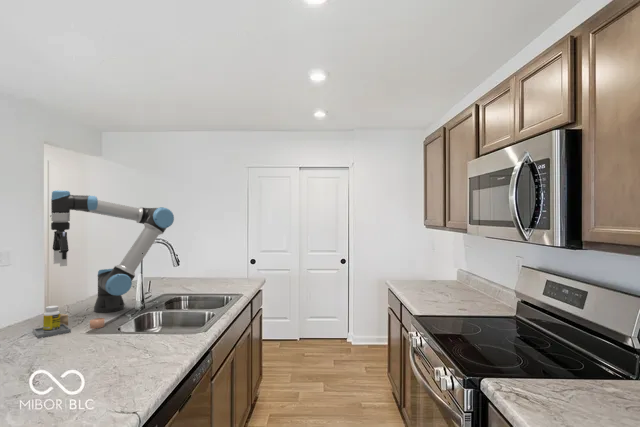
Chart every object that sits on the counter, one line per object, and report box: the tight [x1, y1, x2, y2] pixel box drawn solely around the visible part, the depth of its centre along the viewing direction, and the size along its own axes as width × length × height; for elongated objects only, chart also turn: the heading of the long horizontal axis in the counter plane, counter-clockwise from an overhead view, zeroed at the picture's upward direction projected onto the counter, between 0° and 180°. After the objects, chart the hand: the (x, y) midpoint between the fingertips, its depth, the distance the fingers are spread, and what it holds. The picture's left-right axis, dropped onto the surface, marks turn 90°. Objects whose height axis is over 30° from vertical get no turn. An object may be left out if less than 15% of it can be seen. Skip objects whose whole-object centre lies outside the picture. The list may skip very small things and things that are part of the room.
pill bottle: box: [42, 305, 61, 333], centre depth 169 cm, size 6×6×11 cm
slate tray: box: [32, 324, 72, 339], centre depth 169 cm, size 12×12×2 cm
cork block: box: [60, 313, 69, 326], centre depth 180 cm, size 5×5×5 cm
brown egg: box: [89, 317, 106, 330], centre depth 178 cm, size 6×6×4 cm
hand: (60, 264), depth 184 cm, fingers open, 13 cm apart
